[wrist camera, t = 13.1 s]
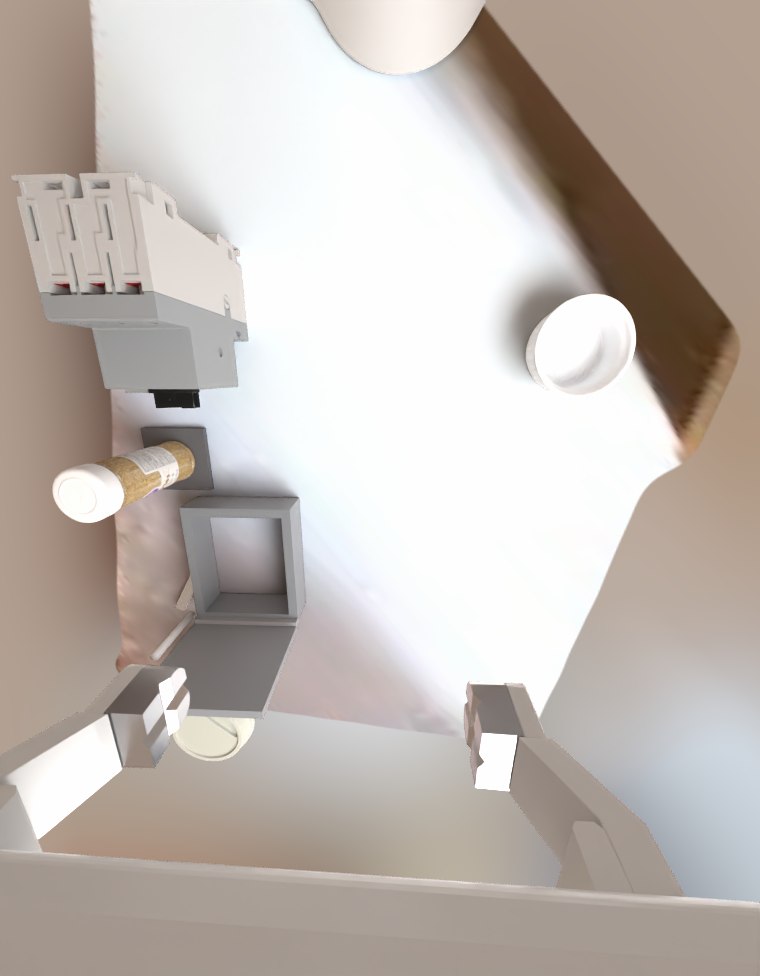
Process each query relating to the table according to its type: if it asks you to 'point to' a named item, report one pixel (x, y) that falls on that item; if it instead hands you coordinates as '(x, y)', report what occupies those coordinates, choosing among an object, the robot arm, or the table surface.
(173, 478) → the sprinkles bottle
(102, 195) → the circuit breaker
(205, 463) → the pad
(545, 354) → the ramekin
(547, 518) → the table surface
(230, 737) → the coffee cup
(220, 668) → the case
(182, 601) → the rod
